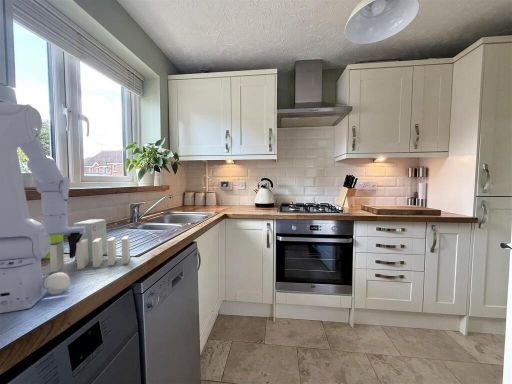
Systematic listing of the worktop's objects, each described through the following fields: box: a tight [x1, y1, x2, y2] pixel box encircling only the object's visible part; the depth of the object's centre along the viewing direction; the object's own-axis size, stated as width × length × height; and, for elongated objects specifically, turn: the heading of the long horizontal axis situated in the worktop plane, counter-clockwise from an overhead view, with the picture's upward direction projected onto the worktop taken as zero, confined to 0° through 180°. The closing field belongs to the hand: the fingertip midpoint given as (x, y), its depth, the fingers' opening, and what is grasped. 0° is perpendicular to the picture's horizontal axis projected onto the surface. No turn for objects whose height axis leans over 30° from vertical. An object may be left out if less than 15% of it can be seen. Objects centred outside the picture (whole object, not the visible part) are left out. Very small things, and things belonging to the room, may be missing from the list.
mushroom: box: [42, 272, 71, 296], centre depth 56 cm, size 5×5×5 cm
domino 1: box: [49, 239, 65, 272], centre depth 70 cm, size 5×2×8 cm, turn 22°
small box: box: [72, 218, 108, 261], centre depth 83 cm, size 8×6×13 cm
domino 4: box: [106, 236, 118, 265], centre depth 76 cm, size 5×2×8 cm, turn 21°
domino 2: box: [76, 239, 89, 269], centre depth 73 cm, size 5×2×8 cm, turn 21°
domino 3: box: [92, 238, 104, 267], centre depth 74 cm, size 5×2×8 cm, turn 21°
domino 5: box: [121, 235, 131, 264], centre depth 77 cm, size 5×2×8 cm, turn 21°
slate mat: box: [41, 256, 132, 277], centre depth 73 cm, size 9×24×1 cm, turn 111°
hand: (57, 258), depth 70 cm, fingers open, 7 cm apart
